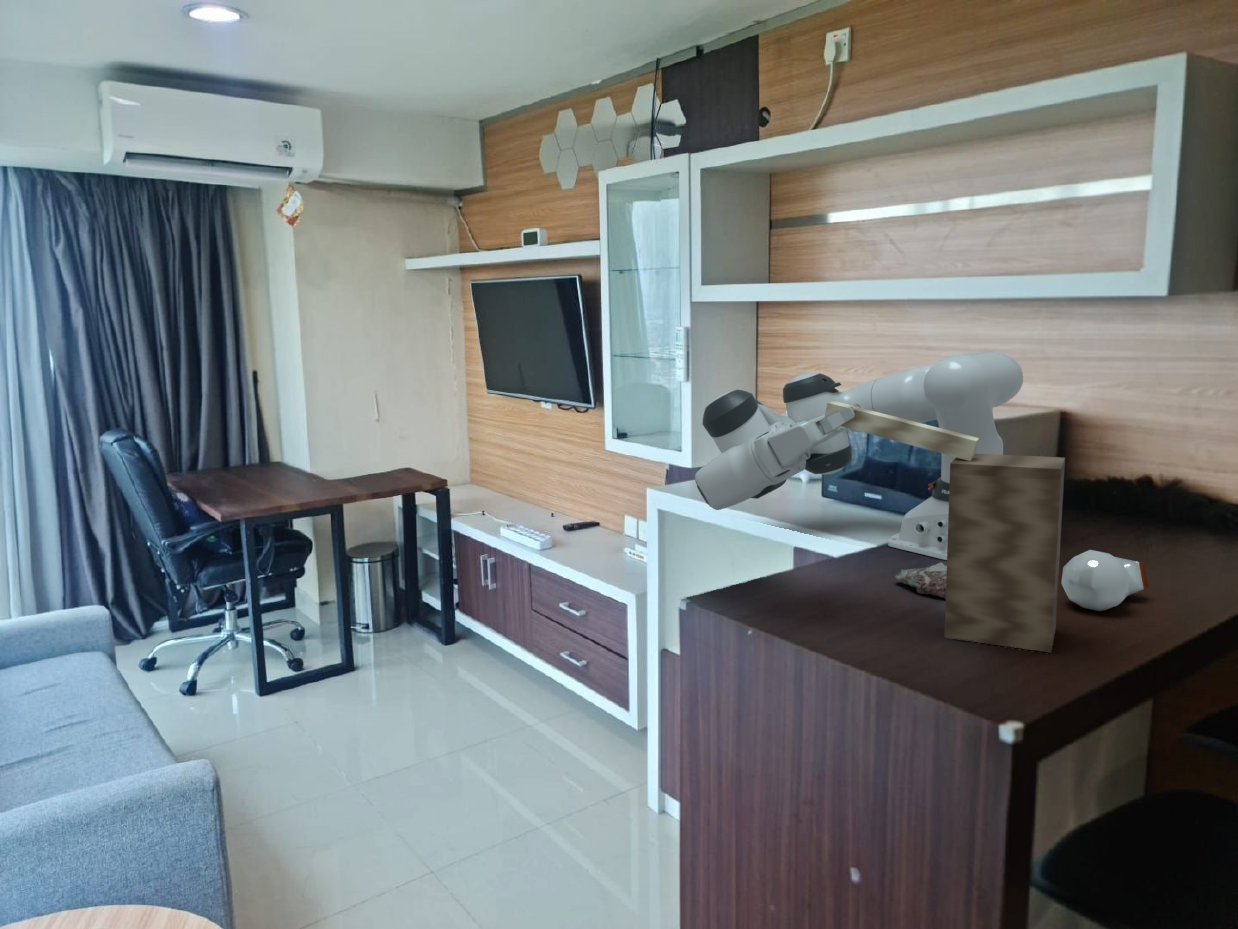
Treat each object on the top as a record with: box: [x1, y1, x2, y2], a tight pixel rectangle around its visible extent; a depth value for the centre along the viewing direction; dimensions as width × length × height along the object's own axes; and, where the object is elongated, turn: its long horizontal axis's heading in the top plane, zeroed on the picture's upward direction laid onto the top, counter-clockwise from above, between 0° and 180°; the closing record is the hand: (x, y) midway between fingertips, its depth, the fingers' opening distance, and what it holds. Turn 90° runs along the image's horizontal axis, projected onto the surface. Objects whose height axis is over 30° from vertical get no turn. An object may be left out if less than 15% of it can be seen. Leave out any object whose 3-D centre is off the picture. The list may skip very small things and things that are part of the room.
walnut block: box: [944, 453, 1066, 654], centre depth 125 cm, size 14×10×26 cm
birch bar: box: [824, 401, 979, 461], centre depth 128 cm, size 22×3×3 cm, turn 61°
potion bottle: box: [1060, 549, 1149, 612], centre depth 137 cm, size 9×10×15 cm
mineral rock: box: [894, 562, 947, 600], centre depth 146 cm, size 15×8×4 cm, turn 25°
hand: (857, 409), depth 131 cm, fingers closed on birch bar, 3 cm apart
